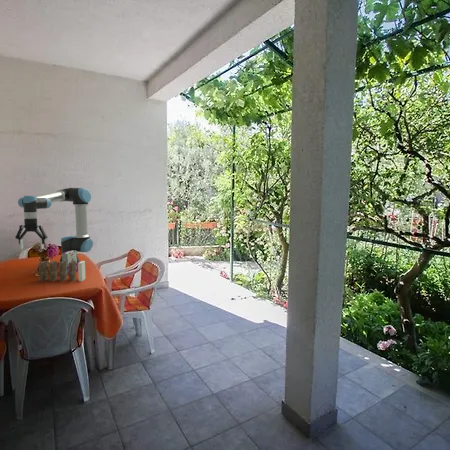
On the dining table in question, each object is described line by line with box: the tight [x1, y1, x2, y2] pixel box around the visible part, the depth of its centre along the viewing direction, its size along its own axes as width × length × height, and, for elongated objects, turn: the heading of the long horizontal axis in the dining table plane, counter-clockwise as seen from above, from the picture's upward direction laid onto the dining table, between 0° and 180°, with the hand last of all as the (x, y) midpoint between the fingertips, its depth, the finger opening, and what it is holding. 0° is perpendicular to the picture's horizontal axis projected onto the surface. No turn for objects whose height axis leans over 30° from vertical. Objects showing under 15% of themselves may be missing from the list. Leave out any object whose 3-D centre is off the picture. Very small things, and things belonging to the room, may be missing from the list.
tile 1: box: [38, 260, 49, 283], centre depth 220 cm, size 2×7×13 cm, turn 6°
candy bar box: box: [61, 250, 78, 276], centre depth 240 cm, size 11×5×16 cm, turn 168°
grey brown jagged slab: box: [58, 261, 68, 282], centre depth 222 cm, size 2×7×13 cm, turn 7°
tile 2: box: [48, 260, 58, 283], centre depth 221 cm, size 2×7×13 cm, turn 6°
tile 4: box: [68, 261, 77, 282], centre depth 222 cm, size 2×7×13 cm, turn 7°
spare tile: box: [77, 260, 86, 282], centre depth 223 cm, size 2×7×13 cm, turn 6°
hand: (32, 248), depth 217 cm, fingers open, 12 cm apart
